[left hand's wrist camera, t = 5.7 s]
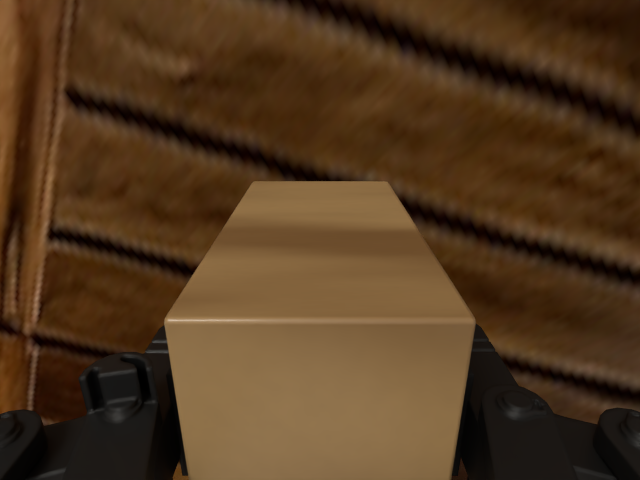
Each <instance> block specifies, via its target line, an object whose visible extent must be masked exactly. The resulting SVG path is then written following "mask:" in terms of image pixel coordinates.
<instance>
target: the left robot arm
mask: <svg viewBox="0 0 640 480" xmlns="http://www.w3.org/2000/svg"><path fill="white" fill-rule="evenodd" d="M79 382H80V386H81V390H82V393H83V397H84V401H85V405H86V409H87V415H86V416H83V417H80V418H76V419H72V420H68V421H64V422H60V423H55V424H51V425H47V426H43V423H42V420H41V417H40V416H39V415H38V414H37V413H36V412H35V411H29V410H24V409H23V410H15V411H8V412H5V413H2V414H0V480H173V478H172V477H173V474H174V472H175V469H176V466H177V464H178V461H179V458H180V463H181V469H182V475H183V476H188V470H187V464H186V458H185V451H184V445H183V439H182V432H181V426H180V419H179V413H178V407H177V400H176V394H175V388H174V381H173V375H172V369H171V362H170V356H169V350H168V343H167V337H166V331H165V325H164V326H162V327H161V328H160V329H159V330H158V332H157V333H156V335H155V337H154V338H153V340H152V343H150V344H149V346H148V348H147V349H146V352H145V353H144V354H141V353H137V352H122V353H118V354H114V355H109V356H107V357H105V358H103V359H100V360H98V361H96V362H95V363H93V364H92V365H90V366H89V367H88V368H86V369H85V370H84V372H83V373H82V374H81V376H80V377H79ZM461 458H462V461H463V463H464V466H465V469H466V472H467V474H468V478H467V480H640V412H638V411H635V410H632V409H624V408H613V409H608V410H606V411H604V412H603V413H602V414H601V415H600V418H599V421H598V424H593V423H588V422H584V421H580V420H575V419H571V418H567V417H563V416H560V415H557V414H554V413H553V412H552V410H551V408H550V407H549V405H548V404H547V402H546V401H544V400H543V399H542V398H541V397H539V396H538V395H537V394H536V393H534V392H532V391H530V390H528V389H526V388H523V387H520V386H518V384H517V383H516V381H515V380H514V378H513V377H512V375H511V373H510V372H509V370H508V369H507V367H506V366H505V364H504V362H503V361H502V359H501V358H500V356H499V355H498V353H497V352H495V348H494V347H493V345H492V344H491V342H489V339H488V338H487V336H486V334H485V333H484V331H483V330H482V328H481V327H480V326H479V325H477V324H476V325H475V331H474V338H473V344H472V350H471V357H470V363H469V369H468V376H467V382H466V388H465V395H464V401H463V407H462V413H461V420H460V426H459V432H458V439H457V445H456V451H455V458H454V464H453V470H452V476H458V471H459V465H460V459H461Z"/></svg>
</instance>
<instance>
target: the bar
mask: <svg viewBox="0 0 640 480" xmlns="http://www.w3.org/2000/svg"><path fill="white" fill-rule="evenodd" d="M164 324H165V331H166V337H167V343H168V350H169V356H170V362H171V369H172V375H173V381H174V388H175V394H176V400H177V407H178V413H179V419H180V426H181V432H182V439H183V445H184V451H185V458H186V464H187V470H188V477H189V480H451V477H452V470H453V464H454V458H455V451H456V445H457V439H458V432H459V426H460V420H461V413H462V407H463V401H464V395H465V388H466V382H467V376H468V369H469V363H470V357H471V350H472V344H473V338H474V331H475V325H476V320H475V318H474V316H473V314H472V313H471V311H470V310H469V308H468V307H467V305H466V303H465V302H464V300H463V299H462V297H461V296H460V294H459V293H458V291H457V289H456V288H455V286H454V285H453V283H452V282H451V280H450V278H449V277H448V275H447V274H446V272H445V271H444V269H443V268H442V266H441V264H440V263H439V261H438V260H437V258H436V257H435V255H434V253H433V252H432V250H431V249H430V247H429V246H428V244H427V243H426V241H425V239H424V238H423V236H422V235H421V233H420V232H419V230H418V228H417V227H416V225H415V224H414V222H413V221H412V219H411V218H410V216H409V214H408V213H407V211H406V210H405V208H404V207H403V205H402V203H401V202H400V200H399V199H398V197H397V196H396V194H395V193H394V191H393V189H392V188H391V186H390V185H389V183H388V182H386V181H254V182H252V184H251V186H250V187H249V189H248V190H247V192H246V193H245V195H244V196H243V198H242V199H241V201H240V203H239V204H238V206H237V207H236V209H235V210H234V212H233V213H232V215H231V217H230V218H229V220H228V221H227V223H226V224H225V226H224V227H223V229H222V231H221V232H220V234H219V235H218V237H217V238H216V240H215V241H214V243H213V244H212V246H211V248H210V249H209V251H208V252H207V254H206V255H205V257H204V258H203V260H202V262H201V263H200V265H199V266H198V268H197V269H196V271H195V272H194V274H193V275H192V277H191V279H190V280H189V282H188V283H187V285H186V286H185V288H184V289H183V291H182V293H181V294H180V296H179V297H178V299H177V300H176V302H175V303H174V305H173V307H172V308H171V310H170V311H169V313H168V314H167V316H166V317H165V320H164Z"/></svg>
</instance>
